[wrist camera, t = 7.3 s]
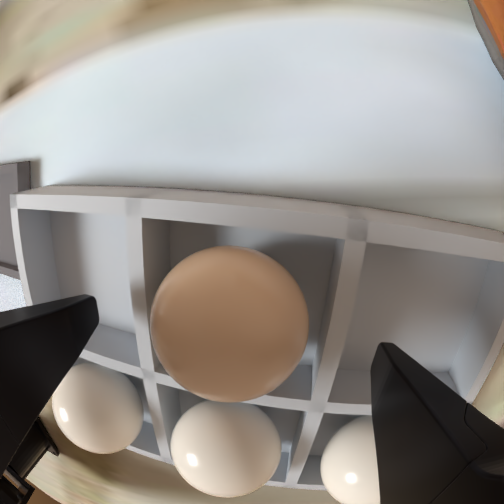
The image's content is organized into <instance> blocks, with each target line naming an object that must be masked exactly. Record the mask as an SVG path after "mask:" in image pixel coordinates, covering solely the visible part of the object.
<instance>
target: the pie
mask: <svg viewBox="0 0 504 504" xmlns="http://www.w3.org/2000/svg"><path fill="white" fill-rule="evenodd" d="M468 3H469V6H470V8H471V12H472V15H473V18H474V21H475V24H476V27H477V29H478V31H479V33H480V35H481V37H482V39H483V41H484V43H485V46H486V48H487V50H488V52H489V54H490V57H491V59H492V61H493V63H494V65H495V66H496V68H497V69H498V71H499V73H500V74H501V76H502V78H503V79H504V0H468Z"/></svg>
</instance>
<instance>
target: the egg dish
mask: <svg viewBox="0 0 504 504" xmlns="http://www.w3.org/2000/svg"><path fill="white" fill-rule="evenodd" d="M26 190H30V161H28V162H20V163H12V164H5V165H0V273H1V274H4V275H7V276H10V277H13V278H16V279H19V280H20V274H19V269H18V264H17V258H16V252H15V245H14V238H13V230H12V220H11V210H10V195H9V194H13V193H17V192H22V191H26Z"/></svg>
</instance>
